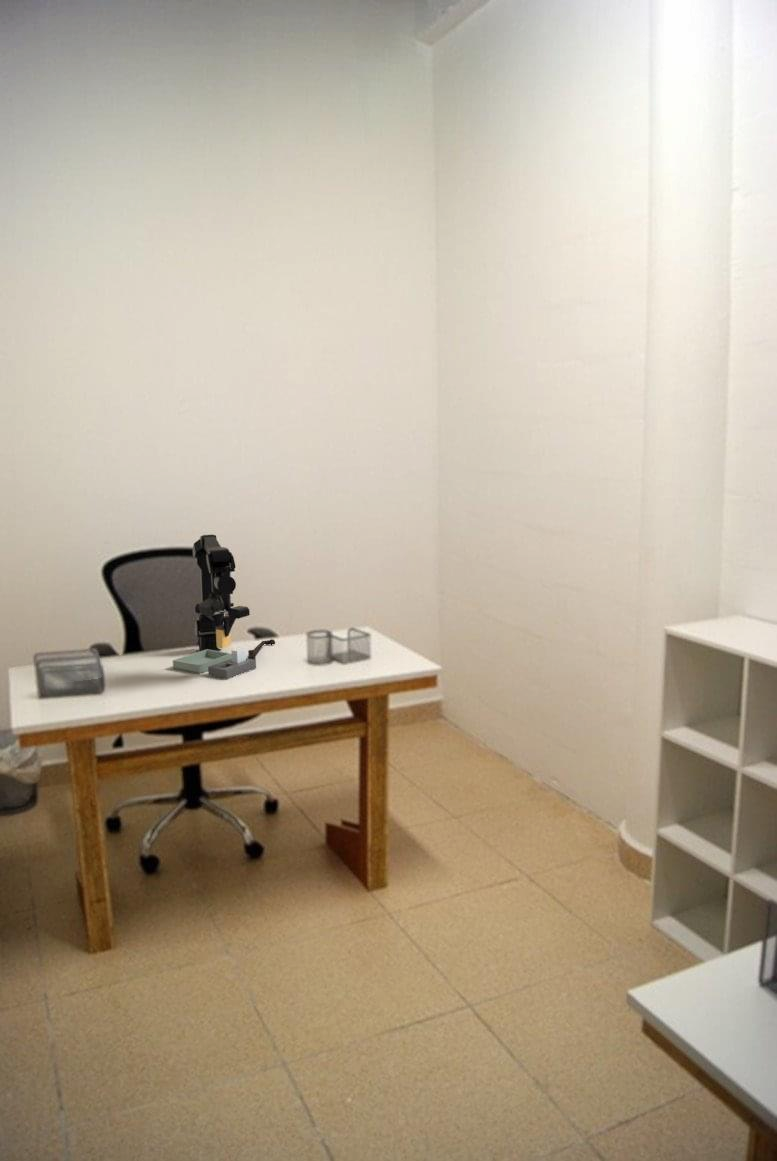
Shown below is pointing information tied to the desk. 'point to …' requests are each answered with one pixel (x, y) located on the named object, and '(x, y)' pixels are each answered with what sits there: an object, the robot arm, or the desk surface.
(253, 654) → the wrench
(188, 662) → the parts tray
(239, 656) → the white rectangular block
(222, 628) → the tan and brown block
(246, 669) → the fuse block
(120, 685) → the desk surface
